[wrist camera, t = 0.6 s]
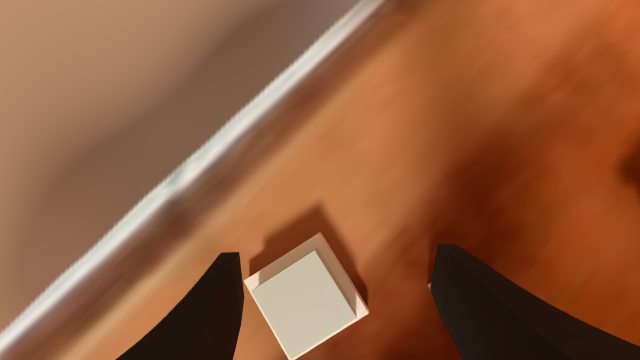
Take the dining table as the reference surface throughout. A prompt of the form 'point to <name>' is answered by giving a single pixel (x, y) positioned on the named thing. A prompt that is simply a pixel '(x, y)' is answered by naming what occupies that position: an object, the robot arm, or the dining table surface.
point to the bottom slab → (335, 267)
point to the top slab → (304, 303)
